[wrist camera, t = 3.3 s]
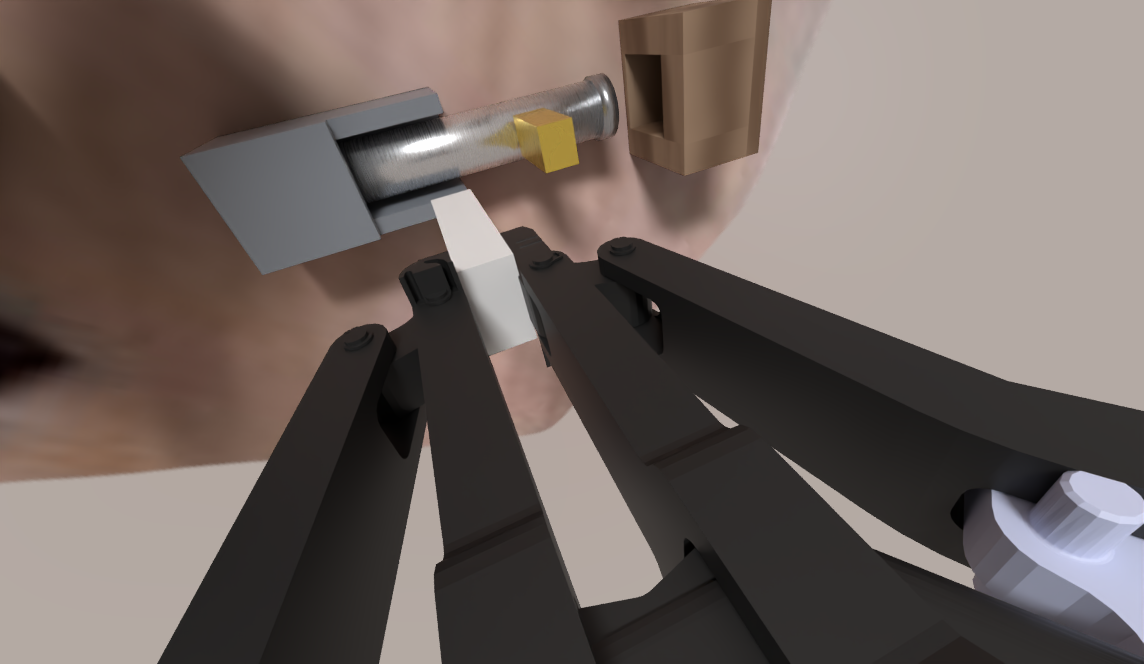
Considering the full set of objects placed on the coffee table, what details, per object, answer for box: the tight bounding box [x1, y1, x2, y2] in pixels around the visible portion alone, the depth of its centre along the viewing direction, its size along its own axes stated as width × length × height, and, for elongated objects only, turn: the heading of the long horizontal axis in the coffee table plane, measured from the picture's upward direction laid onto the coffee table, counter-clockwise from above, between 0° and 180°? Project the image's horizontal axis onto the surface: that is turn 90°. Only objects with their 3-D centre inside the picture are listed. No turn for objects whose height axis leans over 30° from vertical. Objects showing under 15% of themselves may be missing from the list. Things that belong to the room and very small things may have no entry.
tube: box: [338, 73, 619, 204], centre depth 25 cm, size 22×4×9 cm, turn 100°
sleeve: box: [180, 87, 467, 275], centre depth 26 cm, size 13×7×6 cm, turn 100°
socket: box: [619, 0, 772, 176], centre depth 30 cm, size 6×9×8 cm, turn 10°
